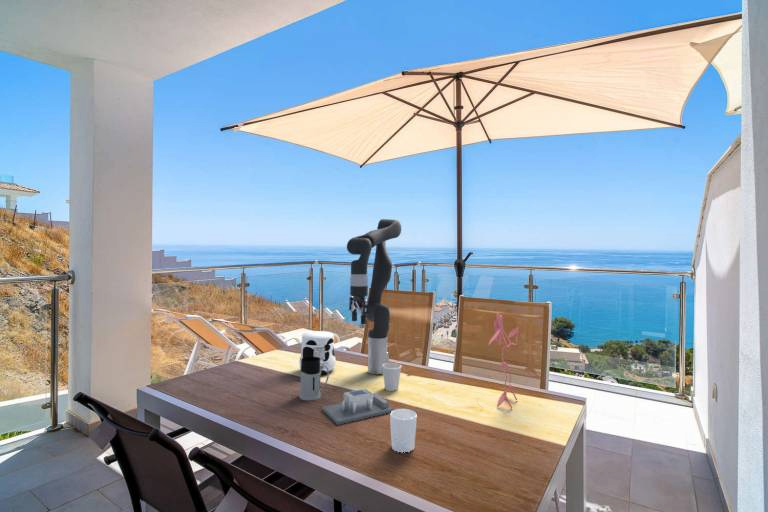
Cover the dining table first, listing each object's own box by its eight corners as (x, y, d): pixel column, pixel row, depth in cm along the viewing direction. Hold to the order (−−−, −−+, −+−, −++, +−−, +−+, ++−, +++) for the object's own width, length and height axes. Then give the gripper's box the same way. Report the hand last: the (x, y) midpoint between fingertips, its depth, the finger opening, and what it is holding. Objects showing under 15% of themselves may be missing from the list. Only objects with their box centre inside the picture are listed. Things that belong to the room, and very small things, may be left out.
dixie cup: (390, 393, 157) (391, 369, 157) (377, 388, 164) (378, 364, 164) (405, 389, 163) (405, 365, 163) (392, 384, 169) (392, 361, 169)
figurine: (524, 394, 158) (523, 309, 158) (509, 417, 135) (508, 318, 136) (487, 388, 165) (486, 307, 166) (467, 409, 143) (466, 315, 144)
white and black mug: (310, 390, 160) (311, 354, 160) (335, 398, 152) (336, 360, 152) (294, 397, 153) (294, 359, 153) (320, 405, 145) (320, 365, 145)
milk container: (317, 364, 199) (318, 329, 198) (342, 370, 188) (343, 333, 188) (291, 372, 185) (292, 335, 184) (317, 379, 174) (317, 340, 174)
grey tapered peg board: (374, 399, 151) (375, 387, 151) (393, 412, 139) (393, 399, 139) (322, 410, 140) (322, 397, 140) (337, 425, 128) (337, 411, 128)
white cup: (388, 441, 117) (388, 408, 117) (413, 440, 118) (414, 408, 118) (391, 454, 109) (391, 420, 109) (418, 454, 110) (418, 419, 110)
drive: (365, 403, 144) (365, 388, 144) (371, 408, 140) (371, 392, 140) (343, 407, 140) (343, 392, 140) (349, 412, 135) (349, 397, 135)
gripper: (374, 285, 160) (374, 324, 160) (359, 283, 172) (359, 319, 172) (358, 286, 156) (358, 326, 156) (344, 283, 168) (343, 320, 168)
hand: (358, 322), depth 164 cm, fingers open, 8 cm apart
